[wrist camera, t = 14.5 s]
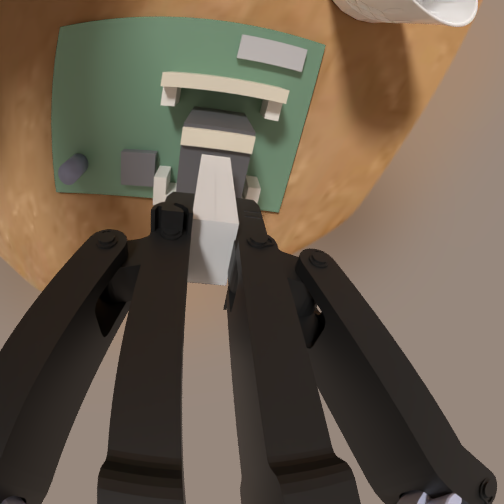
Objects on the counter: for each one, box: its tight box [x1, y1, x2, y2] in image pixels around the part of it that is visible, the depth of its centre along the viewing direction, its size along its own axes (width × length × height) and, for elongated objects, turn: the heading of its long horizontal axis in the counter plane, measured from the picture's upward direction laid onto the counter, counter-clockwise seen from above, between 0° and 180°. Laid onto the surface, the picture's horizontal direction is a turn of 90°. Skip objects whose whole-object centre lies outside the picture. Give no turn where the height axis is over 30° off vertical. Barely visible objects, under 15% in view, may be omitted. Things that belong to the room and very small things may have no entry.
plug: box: [176, 106, 256, 198], centre depth 18 cm, size 4×6×7 cm, turn 168°
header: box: [153, 71, 289, 205], centre depth 19 cm, size 8×11×4 cm
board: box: [51, 17, 326, 212], centre depth 18 cm, size 22×16×3 cm
